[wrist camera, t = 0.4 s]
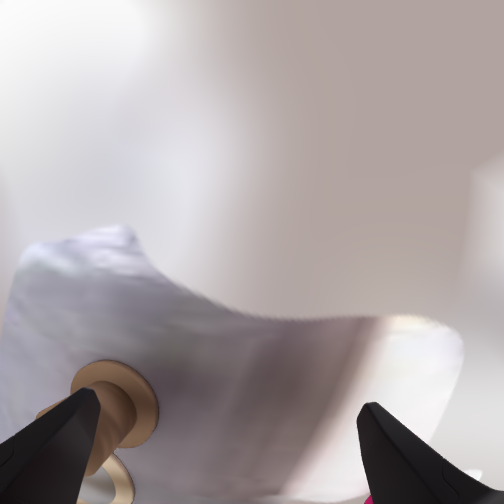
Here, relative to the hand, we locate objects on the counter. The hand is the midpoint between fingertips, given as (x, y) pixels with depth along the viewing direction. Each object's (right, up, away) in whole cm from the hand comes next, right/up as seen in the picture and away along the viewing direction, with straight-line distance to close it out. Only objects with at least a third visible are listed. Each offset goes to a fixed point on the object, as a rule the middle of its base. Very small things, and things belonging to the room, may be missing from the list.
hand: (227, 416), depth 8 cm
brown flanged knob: (-11, -8, +12) cm, 18 cm away
